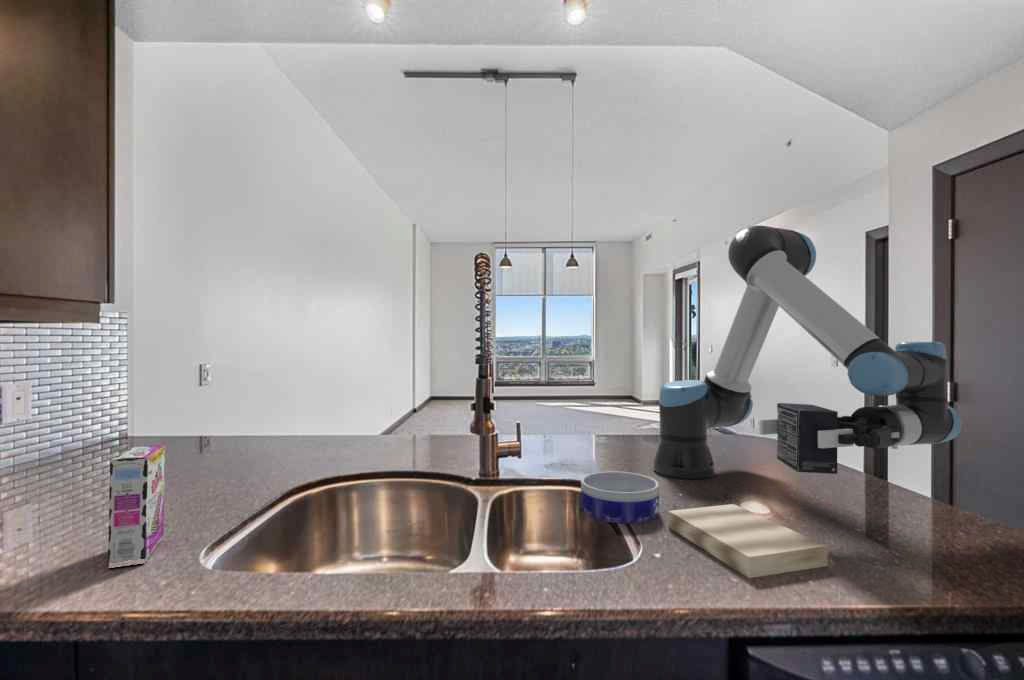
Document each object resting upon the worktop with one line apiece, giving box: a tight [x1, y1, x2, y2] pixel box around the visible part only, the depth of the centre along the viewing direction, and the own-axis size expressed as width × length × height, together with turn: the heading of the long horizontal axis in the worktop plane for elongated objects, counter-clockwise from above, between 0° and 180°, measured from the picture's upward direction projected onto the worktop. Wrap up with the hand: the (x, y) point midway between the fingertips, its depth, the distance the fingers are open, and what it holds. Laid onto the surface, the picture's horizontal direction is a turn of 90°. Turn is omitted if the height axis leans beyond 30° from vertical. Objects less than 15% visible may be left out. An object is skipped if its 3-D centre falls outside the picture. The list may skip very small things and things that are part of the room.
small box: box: [776, 402, 839, 475], centre depth 85 cm, size 11×6×10 cm, turn 169°
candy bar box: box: [107, 445, 166, 564], centre depth 79 cm, size 11×5×16 cm, turn 23°
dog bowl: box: [580, 470, 660, 525], centre depth 98 cm, size 15×15×6 cm
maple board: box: [667, 503, 828, 579], centre depth 81 cm, size 20×14×3 cm
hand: (788, 432), depth 84 cm, fingers closed on small box, 12 cm apart
